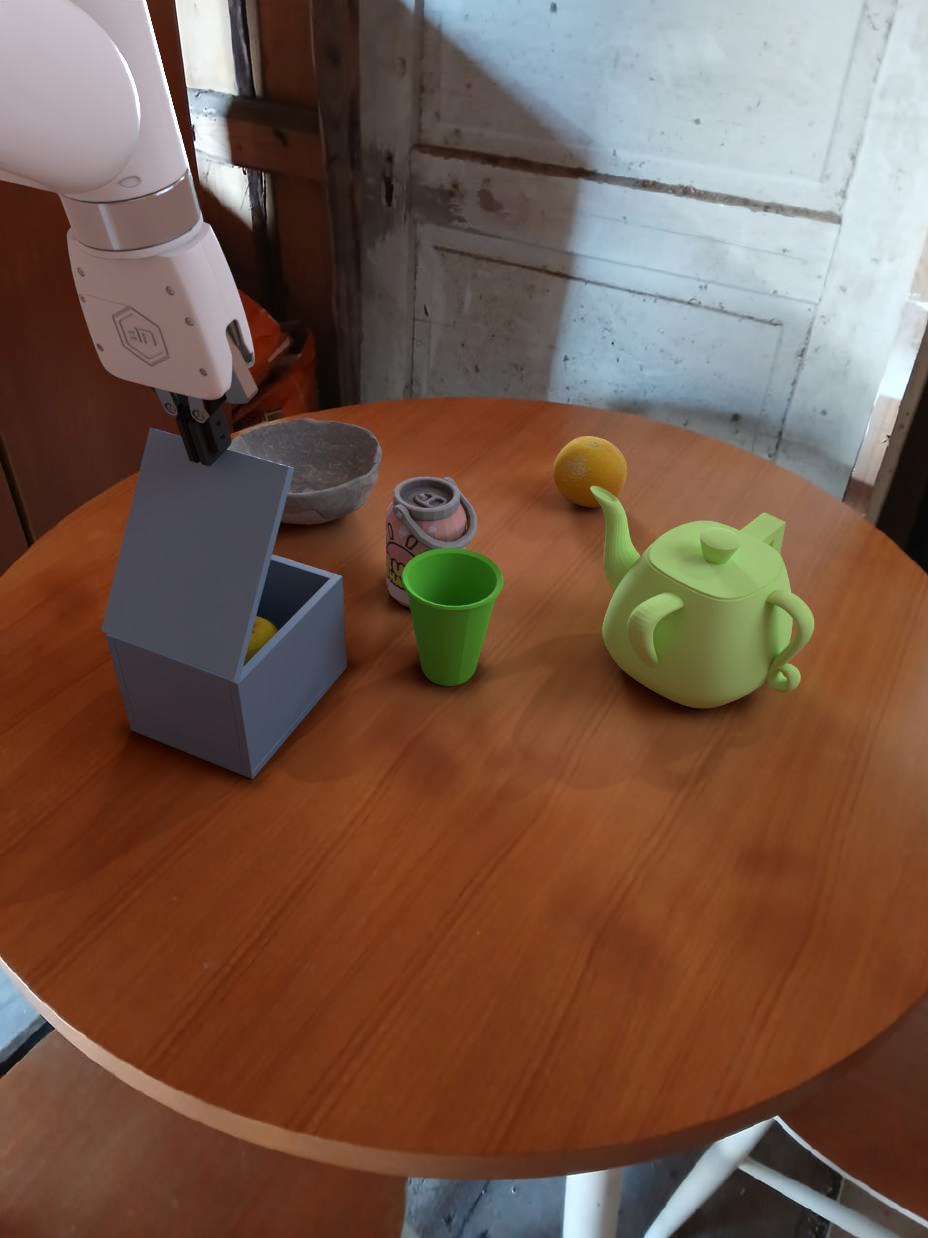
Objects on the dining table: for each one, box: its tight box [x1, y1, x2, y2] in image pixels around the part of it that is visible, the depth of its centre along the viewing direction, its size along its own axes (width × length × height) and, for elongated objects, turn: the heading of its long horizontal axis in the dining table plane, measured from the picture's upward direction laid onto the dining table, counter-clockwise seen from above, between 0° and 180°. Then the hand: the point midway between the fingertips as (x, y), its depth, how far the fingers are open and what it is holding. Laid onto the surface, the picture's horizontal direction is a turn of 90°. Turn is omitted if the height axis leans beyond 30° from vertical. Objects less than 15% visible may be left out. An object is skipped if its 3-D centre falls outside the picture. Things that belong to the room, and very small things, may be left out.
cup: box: [401, 548, 505, 687], centre depth 83 cm, size 9×9×11 cm
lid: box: [100, 427, 294, 680], centre depth 69 cm, size 16×13×1 cm
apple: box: [243, 616, 278, 667], centre depth 80 cm, size 6×6×8 cm
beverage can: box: [385, 476, 478, 609], centre depth 92 cm, size 9×8×12 cm
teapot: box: [590, 486, 815, 709], centre depth 85 cm, size 19×20×14 cm
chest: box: [105, 553, 348, 780], centre depth 79 cm, size 16×13×11 cm
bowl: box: [228, 418, 383, 526], centre depth 105 cm, size 18×18×8 cm
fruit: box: [552, 435, 628, 508], centre depth 109 cm, size 9×8×8 cm
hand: (211, 452), depth 67 cm, fingers closed
